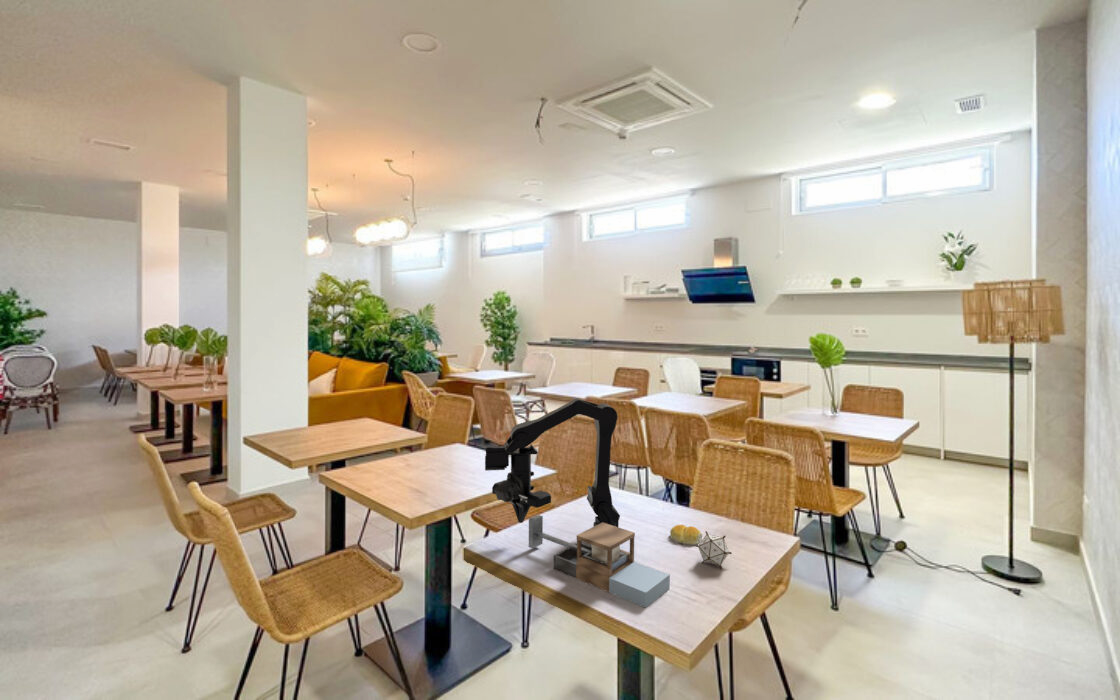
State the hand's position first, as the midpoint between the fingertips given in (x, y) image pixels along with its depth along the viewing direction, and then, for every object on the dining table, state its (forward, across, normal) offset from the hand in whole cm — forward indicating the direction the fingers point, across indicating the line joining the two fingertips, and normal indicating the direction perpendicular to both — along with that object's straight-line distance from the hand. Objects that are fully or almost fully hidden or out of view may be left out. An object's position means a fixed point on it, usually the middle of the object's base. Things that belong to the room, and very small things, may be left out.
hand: (520, 522), depth 149 cm
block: (+3, +30, 0) cm, 30 cm away
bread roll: (+7, +35, +34) cm, 49 cm away
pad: (+6, +40, 0) cm, 40 cm away
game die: (+6, +48, +24) cm, 54 cm away
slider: (+5, +20, 0) cm, 20 cm away
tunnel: (+6, +26, 0) cm, 27 cm away
